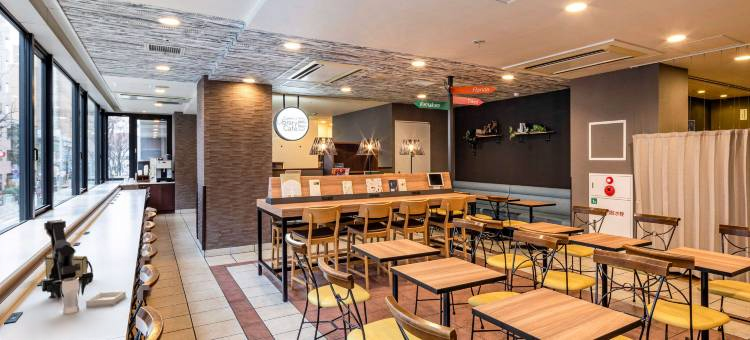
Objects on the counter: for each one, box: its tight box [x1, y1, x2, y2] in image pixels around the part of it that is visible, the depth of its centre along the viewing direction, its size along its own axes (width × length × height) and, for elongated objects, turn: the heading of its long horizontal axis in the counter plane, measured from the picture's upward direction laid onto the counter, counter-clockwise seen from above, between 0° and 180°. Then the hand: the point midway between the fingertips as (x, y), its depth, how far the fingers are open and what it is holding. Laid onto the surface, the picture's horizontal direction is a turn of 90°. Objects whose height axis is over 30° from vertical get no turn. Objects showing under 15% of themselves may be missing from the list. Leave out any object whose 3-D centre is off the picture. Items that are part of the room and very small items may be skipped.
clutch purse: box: [44, 254, 94, 283], centre depth 236 cm, size 30×7×15 cm, turn 79°
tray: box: [85, 290, 127, 308], centre depth 198 cm, size 12×12×3 cm
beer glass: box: [61, 277, 81, 315], centre depth 185 cm, size 7×7×15 cm
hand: (71, 297), depth 184 cm, fingers open, 8 cm apart
